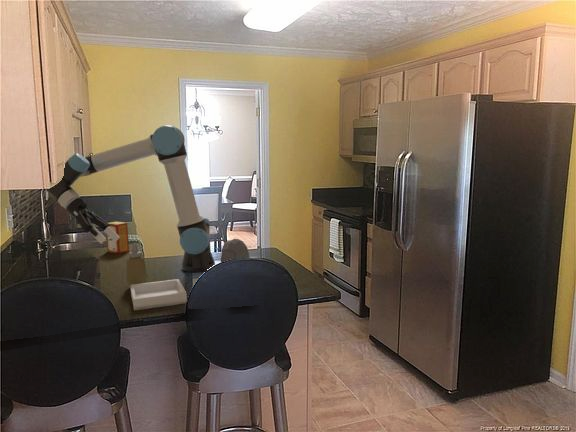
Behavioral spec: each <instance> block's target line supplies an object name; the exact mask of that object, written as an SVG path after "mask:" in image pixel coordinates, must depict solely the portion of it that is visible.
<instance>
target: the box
mask: <svg viewBox="0 0 576 432" xmlns="http://www.w3.org/2000/svg"><path fill="white" fill-rule="evenodd" d="M130 287H131V288H130ZM130 287H129V288H130V296H131V302H132V306H133V311H140V310H148V309H153V308H154V309H155V308H160V307H169V306H175V305H176V306H177V305H183V304H187V303H188V297H187V295H188V294H187V291H186V289H185V288H184V286H183V283H182V282H181V280H180V279H178V278H177V279H176V278H175V279H167V280H159V281H151V282H146V283H142V284H134V285H130ZM186 302H187V303H186Z"/></svg>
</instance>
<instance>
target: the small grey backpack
mask: <svg viewBox="0 0 576 432" xmlns="http://www.w3.org/2000/svg"><path fill="white" fill-rule="evenodd" d="M236 258H249V259H250V252H249V248H248V247H247V245H246V244H245V243H244V241H243V240H241V239H239V238H233V239H230V240H227V241H226V242H224V243H223V245H222V248H221V255H220V263H221V262H224V261H227V260H230V259H236Z"/></svg>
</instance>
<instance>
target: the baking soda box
mask: <svg viewBox="0 0 576 432" xmlns="http://www.w3.org/2000/svg"><path fill="white" fill-rule="evenodd" d="M107 223H108V224H110V226H109V227H110V228H111V229H112V230H113V231H114V232H115V233H116V234H117V235H118V236H119V237H120V238H119V239H118V240H117V241H116V242H114V241H113V240H112V239H111V238H110V237H109V236H108V235H107V234H106V233H105V235H106V236H105V238H106V247H107V251H106V252H107V253H111V254H117V255H121V254H126V253H130V246H129V244H130V243H129V231H128V230H129V229H128V223H127V222H124V221H110V222H107Z"/></svg>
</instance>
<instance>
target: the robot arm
mask: <svg viewBox="0 0 576 432" xmlns="http://www.w3.org/2000/svg"><path fill="white" fill-rule="evenodd" d="M185 142H186V141H185V136H184V134H183V132H182V131H181V130H180V129H179V128H177V127H176V126H175V125H171V124H165V125H161V126H159V127H157V128H156V130H155V131H154V132H153V133H151V134H149V136H148V138H144V139H141V140H137V141H135V142H131V143H127V144H123V145H121V146H118V147H114V148H111V149H108V150H105V151H102V152H97V153H94V154H92V155H88V156H84V155H82V154H80V153H77V152H75V153H74V154H73V155H72V156H70V157H68V160H66V161H65V162H64V164H65V168H64V176H63V178H62V180H61V181H60V182H59V183H58V184H57V185H55V186H54V187H52V188H50V189H45V188H44V190H45V191H46V192H47V193H48V194H49V195H50V196H51V197H53V198H54V199H55V200H56V201H57V202H58V203H59V204H60V207H63V208H64V209H65V210H66V212H67V213H68V214H70V215H71V216H72V217H74V218H75V219H76V221H77V223H78V224H79V226H80V227H81V228H82V230H83V231H84V233H86V234H87V233H90V235H92V236H93V238H94V239H95V240H96V241H97V242H98V243H100V244H103V243H104V242H105V241H107V238H106V236H104V234H103V233H101V231H99V229H97V228H96V227H95V226H97V227H98V228H100V229H102V230H103V232H104V233H105V235H106V234H107V235H108V236H109V237H110V238H111V239H112V240H113V241H114V242H116V241H117V240H118V239H119V238H120V237H119V236H118V235H117V234H116V233H115V232H114V231H113V230H112V229H111V228H110V227H109V226H110V224H108V223H109V222H107V221H106V220H104V218H102V217H100V216H99V215H98V214H96V213H95V212H94V210H92V209H90V210H89V209H87V207H88V202H87V201H86V200H85V199H83V198H82V197H81V195H79V193H77V192H76V191H75V189H73V187H71V186H72V185H73V184H74V183H75V182H76V181H77V180H78V179H79V178H82V177H86V176H88V177H89V176H90V175H92V174H96V173H99V172H102V171H105V170H109V169H113V168H115V167H119V166H122V165H125V164H128V163H132V162H135V161H140V160H141V159H142V160H143V159H145V158H149V157H152V156H156V157H157V159H158V162H159V163H160V164H162V165H163V166H164V167H163V168H164V169H165V173H166V177H167V180H168V184H169V188H170V191H171V195H172V199H173V203H174V205H175V209H176V213H177V216H178V222H177V224H176V228H177V231H178V235H179V244H180V247H181V249H182V250H183V251H184V254H183V258H182V261H181V270H182V271H183V272H187V273H203V272H207V271H206V270H207V269H209V268H210V267H212V266H213V265H215V266H216V262H215V259H214V257H213V254H212V250H211V233H210V232H211V231H210V230H211V228H210V225H211V223H210V220H209V218H207V217H206V218H204V217H203V216H202V215H200V213H199V209H198V206H197V205H198V204H197V201H196V197H195V194H194V190H193V186H192V182H191V179H190V176H189V172H188V167H187V164H186V161H185V160H186V158H187V156H188V154H187V149H186V145H185ZM93 224H94V225H95V226H93Z"/></svg>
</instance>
